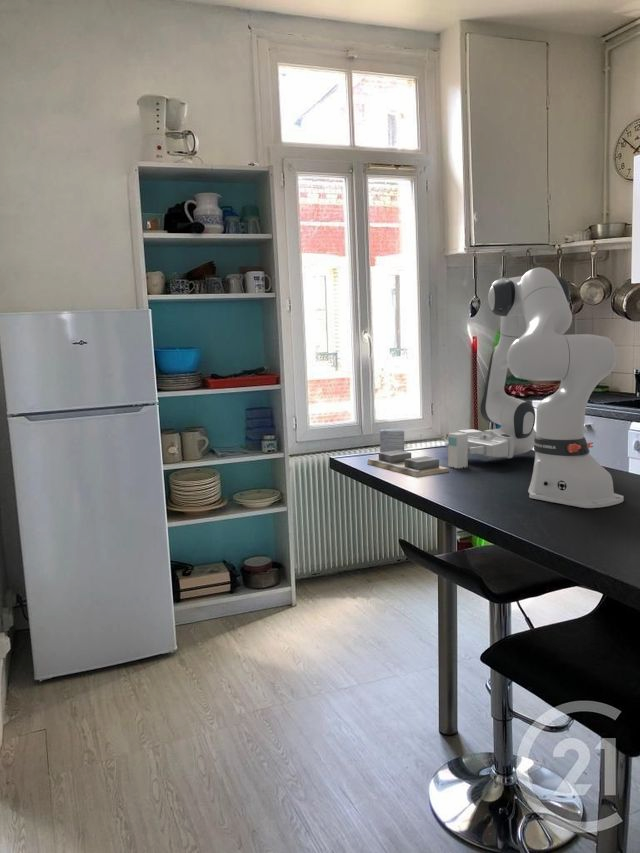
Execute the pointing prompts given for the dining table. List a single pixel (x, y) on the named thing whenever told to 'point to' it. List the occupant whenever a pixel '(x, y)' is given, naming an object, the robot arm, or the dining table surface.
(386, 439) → the medicine box
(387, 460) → the mounting board
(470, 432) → the white cube
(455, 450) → the block
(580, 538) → the dining table surface
